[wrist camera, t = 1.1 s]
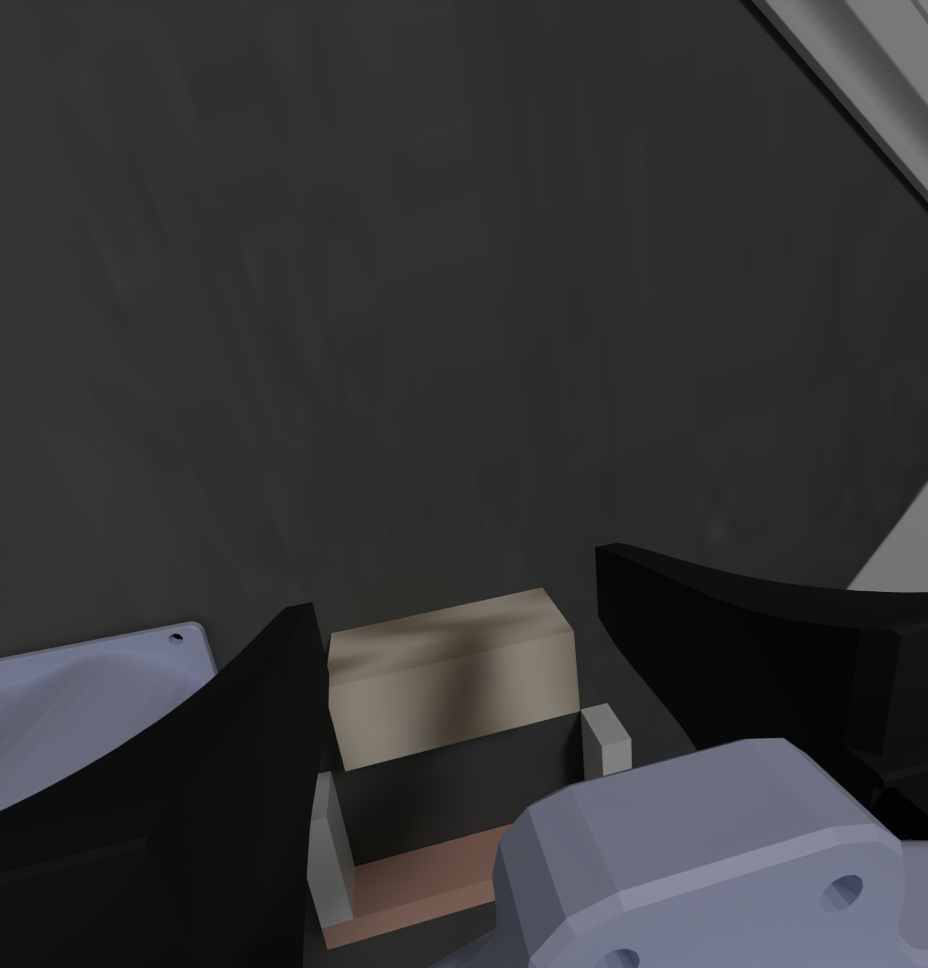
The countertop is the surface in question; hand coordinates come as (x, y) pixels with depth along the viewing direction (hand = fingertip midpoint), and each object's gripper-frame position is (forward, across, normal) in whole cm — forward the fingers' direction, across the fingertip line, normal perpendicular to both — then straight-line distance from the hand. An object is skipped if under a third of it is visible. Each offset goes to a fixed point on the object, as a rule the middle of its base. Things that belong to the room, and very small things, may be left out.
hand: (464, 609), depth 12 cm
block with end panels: (+9, 0, +16) cm, 19 cm away
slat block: (+10, 0, +8) cm, 12 cm away
